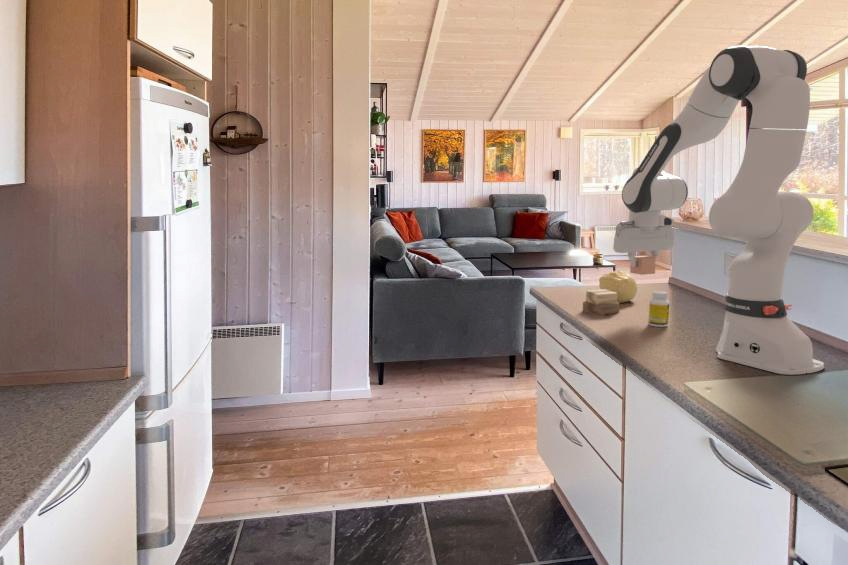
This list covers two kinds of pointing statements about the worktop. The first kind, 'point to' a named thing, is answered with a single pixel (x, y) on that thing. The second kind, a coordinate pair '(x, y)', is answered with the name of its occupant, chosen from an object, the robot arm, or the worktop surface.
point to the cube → (644, 265)
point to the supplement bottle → (658, 309)
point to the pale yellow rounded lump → (619, 285)
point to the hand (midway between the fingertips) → (642, 266)
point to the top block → (601, 297)
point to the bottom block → (600, 308)
